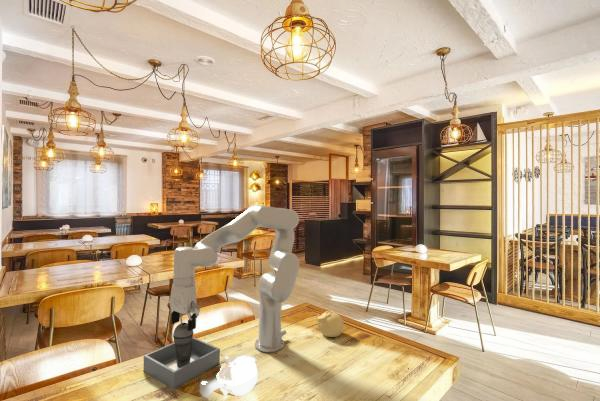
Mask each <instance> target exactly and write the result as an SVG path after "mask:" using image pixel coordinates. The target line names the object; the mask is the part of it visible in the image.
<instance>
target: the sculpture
mask: <svg viewBox="0 0 600 401" xmlns="http://www.w3.org/2000/svg"><path fill="white" fill-rule="evenodd" d="M316 320H317V322H316V323H317V327H318V328H319V329H318V330H319V331H320V333H321V334H322V335H323V336H324V337H328V338H337V337H339V336H340V335H342V333H343V331H344V326H345V325H344V321H343V320H344V319H343V318H342V317H341V315H340V314H338V313H337V312H335V310H331V311H329V310H326V311H324V312H323V313H322V314H321V315H319V316H318V317H317V319H316Z"/></svg>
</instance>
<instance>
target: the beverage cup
mask: <svg viewBox="0 0 600 401" xmlns="http://www.w3.org/2000/svg"><path fill="white" fill-rule="evenodd" d="M182 315H183V314H181V313H180V323H179V324H178V325H177V326H175V328H174V331H173V334H172V337H173V343H174V342H175V352H176V362H177V367H178V368H181V367H183V366H185V365H187V364H188V363H190V358H191V346H192V338H193V337H194V336H193V335H194V329H193V330H190V331H188V322H183V316H182Z"/></svg>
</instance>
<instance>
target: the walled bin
mask: <svg viewBox="0 0 600 401" xmlns="http://www.w3.org/2000/svg"><path fill="white" fill-rule="evenodd" d="M220 356H221V348H220V347H217V346H214V345H212V344H210V343H207V342H206V341H203V340H201V339H199V338H197V337H194V336H193V338H192V346H191V358H190V363H188V364H187V365H185V366H183V367H181V368H178V367H177V362H176V352H175V342H174V341H173V342H172V343H170V344H167V345H165V346H162V347H161V348H160V347H159V348H158V349H155V350H154V351H152V352H149V353H147V354H144V355H143V373H145V374H146V375H148V376H149V377H151V378H153V379H154V380H156V381H158V382H160V383H161V384H163V385H164V386H166V387H168V388H169V389H171V390H173V391H175V390H176V389H179V388H181V387H182V386H184V385H185V384H187V383H188V382H191V381H193V380H194V379H196V378H198V377H199V376H201V375H203V374H205V373H206V372H209V371H210V370H211V369H213V368H215V367H217V366H219V365H220V360H221V359H220V358H221V357H220Z"/></svg>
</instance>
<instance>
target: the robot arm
mask: <svg viewBox="0 0 600 401" xmlns="http://www.w3.org/2000/svg"><path fill="white" fill-rule="evenodd" d="M299 223H300V216H299V214H298V212H297V211H296V210H294V209H288V208H283V207H274V206H267V205H263V204H262V205H261V204H255V205H252V206H250V207H248V208H247V209H246V210H245V211H243V213H241V214H240V215H238V216H237V217H236V218H235V219H232V220H231V221H230V222H229V223H227V224H225V225H224V226H222V227H220V228H218V229H216V230H214V231H213V232H211V233H209V234H207V235H206V236H205V237H204V238H202V239H201V240H200V241H198V242H197V243H196V244H195V245H194V246H179V247H176V248H175V250H174V251H173V277H172V278H173V280H172V281H173V282H172V285H171V291H170V298H169V299H168V304H169V306H168V307H169V308H170V313H171V318H170V321H171V322H170V324H172V325H174V324H177V323H179V322H181V319H180V313H181V315H187V317H188V319H187V323H188V331H190V330H193V331H194V330H195V329H196V328H197V318H198V316H200V313H201V308H200V307H199V306H198V304H197V291H196V290H197V289H196V285H195V284H196V268H197V267H199V268H209V267H212V266H214V265H215V264H216V263H217V262H218V259H219V254H218V252H217V251H218V250H219V249H221V248H222V247H224V246H226V245H227V246H228V245H230V244H231V245H232V244H235V243H238V242H239V243H240V242H241V241H242V240H244V239H245V238H246V237H247V236H249V235H250V234H252V233H253V232H254V231H255V230H256V229H258V228H259V227H262V228H267V229H274V233H275V235H274V236H275V237H274V241H273V245H272V248H271V251H270V254H269V256H268V266H269V267H270V268H271V269H272V270H273V271H276V273H275V272H265V273H263V274H262V275H261V276H260V277H259V280H258V284H257V285H258V286H257V287H258V297H259V312H258V316H259V318H258V339H256V341H255V342H254V347H255V348H256V350H258V351H260V352H263V353H275V352H278V351H281V350H282V349H283V348H284V346H285V342H284V340H283V339H282V337H283V336H285V335H286V334H287V330H285V329H283V330H282V306H283V304H282V303H283V302H285V301H287V300H288V299H289V298H290V296H291V295H292V292H293V290H294V286H295V283H296V280H297V277H298V273H299V269H300V260H299V258H298V256H297V255H296V254H295V253H293V248H294V244H295V236H296V235H295V231H294V229H295V228H296V227H297V226H298V225H299ZM191 314H192V315H191Z"/></svg>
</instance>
